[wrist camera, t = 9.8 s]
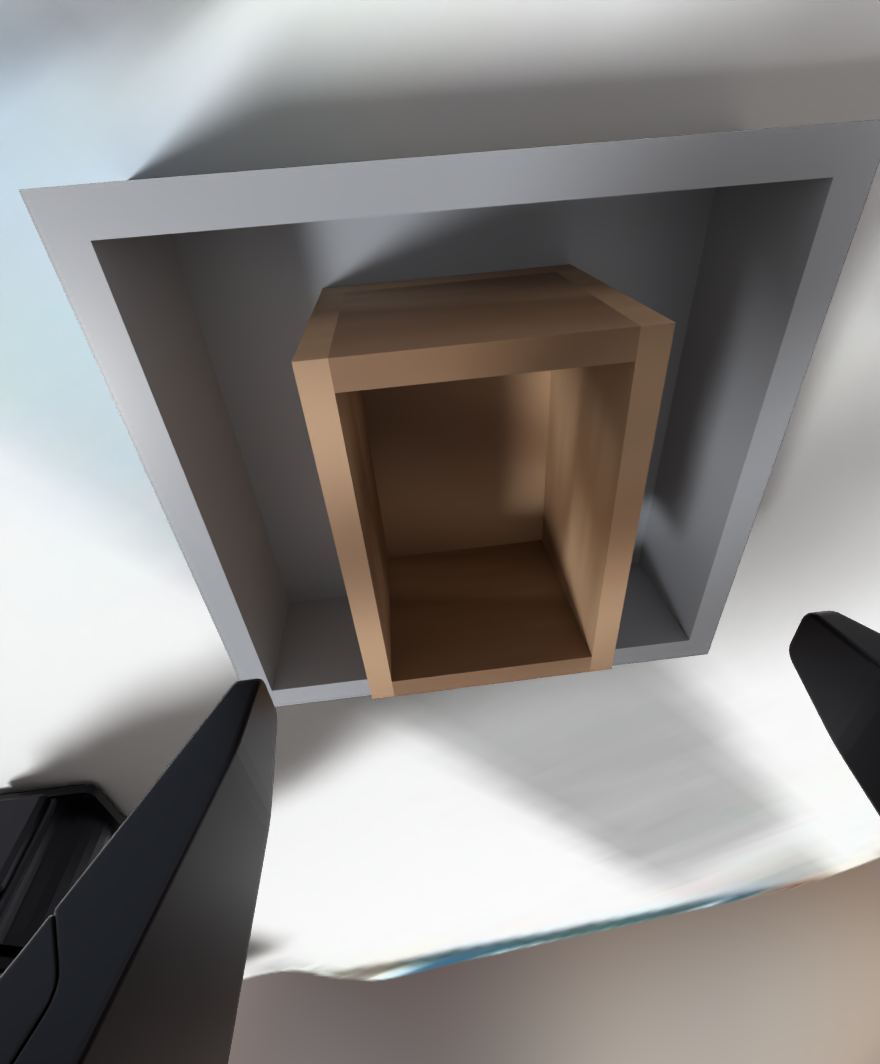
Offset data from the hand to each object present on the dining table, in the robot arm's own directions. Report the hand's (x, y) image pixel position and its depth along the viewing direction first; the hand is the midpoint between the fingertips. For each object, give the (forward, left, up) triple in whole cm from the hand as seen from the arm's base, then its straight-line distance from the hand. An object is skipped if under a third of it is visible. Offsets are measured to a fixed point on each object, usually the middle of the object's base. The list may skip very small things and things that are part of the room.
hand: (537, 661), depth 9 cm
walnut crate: (0, 0, -9) cm, 9 cm away
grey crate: (0, 0, -10) cm, 10 cm away
